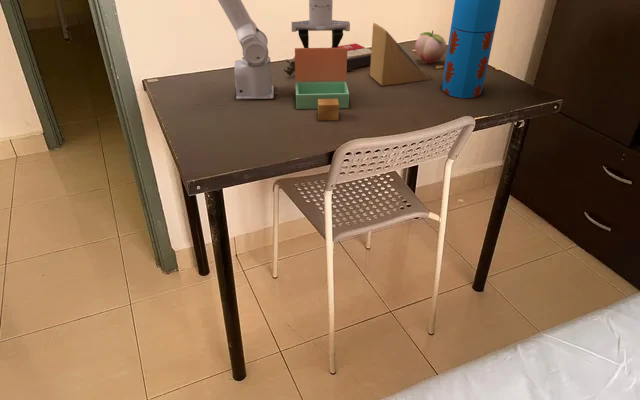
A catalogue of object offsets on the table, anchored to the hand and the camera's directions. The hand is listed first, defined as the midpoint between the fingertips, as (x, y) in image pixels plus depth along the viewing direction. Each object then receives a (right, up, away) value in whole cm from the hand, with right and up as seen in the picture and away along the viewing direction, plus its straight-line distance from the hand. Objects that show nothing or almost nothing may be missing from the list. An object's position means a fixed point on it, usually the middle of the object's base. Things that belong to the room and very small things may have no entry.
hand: (320, 58), depth 131 cm
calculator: (+8, +5, +23) cm, 25 cm away
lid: (0, -2, -2) cm, 3 cm away
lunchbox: (0, -11, -1) cm, 11 cm away
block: (+2, -16, -8) cm, 18 cm away
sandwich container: (+23, -2, +14) cm, 27 cm away
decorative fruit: (+33, +5, +23) cm, 41 cm away
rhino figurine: (-5, 0, +16) cm, 17 cm away
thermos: (+38, -7, +6) cm, 40 cm away
